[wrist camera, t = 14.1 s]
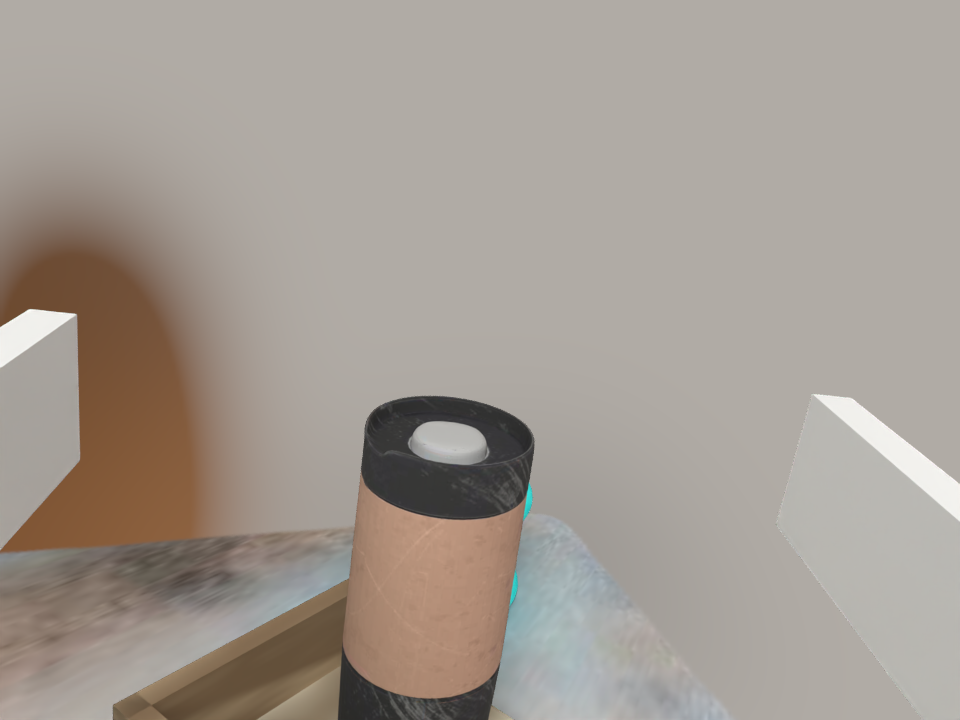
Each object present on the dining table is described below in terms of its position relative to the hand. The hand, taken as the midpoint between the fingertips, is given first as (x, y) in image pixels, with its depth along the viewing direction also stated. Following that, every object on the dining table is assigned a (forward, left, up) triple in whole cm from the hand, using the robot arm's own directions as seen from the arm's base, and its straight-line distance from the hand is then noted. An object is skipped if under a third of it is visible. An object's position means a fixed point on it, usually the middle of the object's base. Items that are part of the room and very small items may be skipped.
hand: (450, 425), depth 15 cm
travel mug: (-12, +16, -29) cm, 35 cm away
